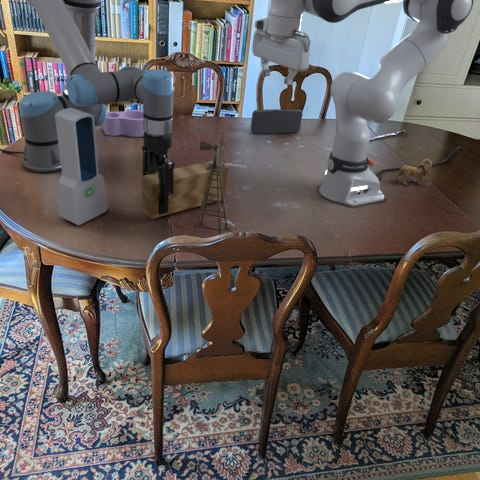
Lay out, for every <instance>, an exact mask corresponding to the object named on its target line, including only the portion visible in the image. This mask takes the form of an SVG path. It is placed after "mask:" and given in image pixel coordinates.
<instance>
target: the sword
mask: <svg viewBox="0 0 480 480" xmlns="http://www.w3.org/2000/svg"><path fill="white" fill-rule="evenodd" d="M399 132H400V131H393V132H390V133H387V134H382V135H377V136H374V137H370V142H372V141H373V140H377V139H382V138H387V137H391V136H392V137H393V136H398V135H401V134H402V133H399ZM406 133H408V132H404V133H403V134H406Z"/></svg>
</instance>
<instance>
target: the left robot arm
mask: <svg viewBox="0 0 480 480" xmlns="http://www.w3.org/2000/svg"><path fill="white" fill-rule="evenodd" d="M25 1H26V3H27V4H28V5H30V7H33V8H34V9H35V12H36V13H37V16H38V17H39V19H40V21H41V23H42V25H43V27H44V29H45V31H46V33H47V35H48V37H49V39H50V41H51V42H52V44H53V47H54V48H55V50H56V52H57V54H58V57H59V58H60V60H61V62H62V64H63V66H64V68H65V71H66V80H65V84H64V85H63V86H62V95H58V94H57V93H56V92H54V91H49V90H46V91H44V90H41V91H35V92H31V93H28V94H26V95H24V96H23V97H21V99H20V100H19V103H18V104H19V116H20V119H21V125H22V132H23V137H24V148H23V151H13V150H12V151H11V150H5V149H2V148H0V152H3V153H6V154H15V155H16V154H19V155H22V158H21V159H22V160H21V161H22V166H23V168H24V169H25V170H27V171H29V172H33V173H39V174H46V173H56V172H61V171H62V168H61V161H60V153H59V145H58V137H57V129H56V121H55V114H56V113H58V112H59V111H61V110H63V109H67V108H73V109H77V110H80V111H82V112H85V113H88V114H91V115H94V123H95V128H97V127H100V126H102V125H103V124H104V123H103V122H104V120H105V117H106V112H107V105H106V104H111V103H113V104H114V103H121V102H129V101H137V102H138V103H141V104H142V111H143V130H144V131H145V132H144V133H143V136H142V137H143V145H142V146H141V150H142V168H141V169H142V172H141V173H142V174H141V176H144V175H149V174H154V173H158V179H159V186H160V193H158V195H159V214H164V213H168V201H169V195H171V194H174V181H173V169H175V161H174V160H170V159H169V149H171V148H172V146H173V133H172V132H173V121H174V119H173V113H174V111H173V110H174V93H175V88H174V77H173V75H172V73H171V72H169V71H168V70H162V69H160V68H159V69H158V68H151V69H146V70H143V69H142V68H139V67H136V66H132V65H126V66H124V67H122V68H121V69H119V70H117V71H103V72H102V71H101V69H100V68H99V66H98V63H97V62H96V11H97V10H99V8H101V3H102V1H101V0H25Z"/></svg>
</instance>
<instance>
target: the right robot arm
mask: <svg viewBox="0 0 480 480" xmlns="http://www.w3.org/2000/svg"><path fill="white" fill-rule="evenodd" d="M399 2H400V3H401V2H402V8H403V12H404V15H405V16H406V17H407V18H408V19H409V20H411V21H413V22H417V25H416V26H415V27H414V29H413V30H412V31H411V32H410V33H409V34H408V35H406V36H405V37H404V38H403V39H401V40H400V41H399V42H398V43H396V44H395V45H394V46H393V47H391V48H390V49H389V50H388V51H387V52H386V53H384V54H383V55H382V56H381V58H380V60H379V70H378V71H377V72H376V73H375V74H374V75H372V76H371V77H367V76H364V75H362V74H360V73H359V72H351V71H344V72H341V73H339V74H337V75H336V76H335V78H334V79H333V81H332V82H331V85H330V95H331V98H332V100H333V103H334V110H335V134H334V140H333V145H332V150H331V151H330V153H329V157H328V161H327V170H325V173H324V175H325V176H324V178H323V181H322V183H321V185H320V187H319V188H318V191H319V193H320V195H321V196H323V198H326V199H327V200H330V201H332V202H336V203H340V204H343V205H346V206H349V207H357V206H363V205H368V204H373V203H378V202H382V201H384V200H385V195H384V193H383V191H382V190H380V186H381V183H380V178H381V174H382V173H384V172H389V171H390V172H391V171H399V170H400V169H401V168H402V167H403V166H400V167H399V166H398V167H389V168H383V169H381V170H379V171H378V173H377V175H375V173H374V172H373V170H372V169H370V168H373V167H374V166H375V165H376V162H375V161H374V160H373V159H369V157H368V156H367V153H368V149H369V145H370V142H371V141H370V138H372V137H371V131H370V129H369V126H368V122H371V123H376V124H383V123H385V122H388V121H389V120H390V119H391V118H392V117H393V115H394V114H395V113H396V110H397V107H398V97H399V94H400V93H401V91H402V90H403V88H404V87H405V86H406V85H407V84H408V83H409V82H410V81H411V80H413V79H414V78H415V77H416V76H417V75H419V74H420V73H421V72H422V71H424V70H425V69H426V68H427V67H428V66H429V65H430V64H432V62H433V61H434V60H435V59H436V58H438V56H439V55H440V53H442V51H443V50H444V48H446V46H447V41H448V37H447V34H450V33H453V32H455V31H456V30H457V29H458V27H459V26H460V25H462V24H463V23H464V22H465V20H466V19H467V18H468V17H469V16H470V13H471V11H472V9H473V7H474V0H270V8H269V10H268V16H267V17H265V18H261V19H260V18H259V19H257V20H255V21H254V29H255V30H254V33H253V38H252V46H251V51H252V54H253V56H254V57H257V58H260V65H261V68H262V71H261V72H262V73H261V75H262V76H264V77H270V75H271V70H272V69H270V68H269V63H270V62H271V63H274V64H277V65H280V66H282V67H284V68H287V70H288V71H287V72H288V75H287V76H285V77H284V81H283V83H284V84H285V85H286V86H291V85H292V84H293V80H294V79H295V76H296V75H297V74H298V72H305V71H307V70H308V69H309V67H310V61H311V39H310V37H309V34H308V33H306V32H302V31H301V25H302V19H303V13H307V14H310V15H312V16H314V17H317V18H320V19H322V20H323V21H325V22H328V23H331V24H337V23H340V22H342V21H344V20H346V19H347V18H348V17H350V16H351V15H352V14H354V13H355V12H358V11H359V10H362V9H366V8H370V7H375V6H377V5H382V4H391V3H399ZM459 148H462V147H461V146H458V147H456V149H459ZM459 150H460V151H463V148H462V149H459ZM453 151H454V150H453ZM453 151H451V152H450V153H449V155H448V156H447V157H446V158H445V159H442V160H440V161H437V162H434V163H433V162H432V167H433V166H438V165H441V164H443V163H445V162H447V161H448V160H449V159H451V157H452V156H453V154H455V153H456V152H457V151H454V152H453ZM452 152H453V153H452ZM451 153H452V154H451ZM450 154H451V156H450ZM449 156H450V157H449ZM448 157H449V158H448ZM447 158H448V159H447ZM409 166H410V167H418V166H419V165H409ZM369 167H370V168H369Z"/></svg>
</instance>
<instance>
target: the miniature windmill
mask: <svg viewBox="0 0 480 480" xmlns="http://www.w3.org/2000/svg"><path fill="white" fill-rule="evenodd" d="M225 137H226V134H225V133H222V132H221V133H220V137H219V138H220V139H218V141H219V142H218V143H217V145H214V146H213V145H212V144H211V143H208V142H205V141H202V140H201V141H199V150H200V151H211V150H213V151H215V155H214V156H213V161H214V162H213V163H209V166H208V167H207V168H206V170H211V172H210V175H209V177H208V179H209V180H208V183H207V184H206V186H207V187H206V190H205V193H204V198H203V200H202V202H201V203H202V205H201V206H200V208H199V210H198V211H199V212H198V214H197V217H196V222H195V224H194V230H193V233H192V237H193V236H195V237H196V234H197V232H198V231H197V230H198V228H201V229H207V230H213V231H218V236H219V235H220V234H221V235H222V232H223V231H222V230H223V229H224V227H225V230H228V229H229V225H228V219H229V216H227V211H226V201H225V199H224V196H223V188H222V181H221V176H222V175H221V174H220V172H224V171H225V169H226V167H228V166H227V165H225V164H224V165H225V166H224V165H220V163H223V162H222V159H223V158H224V157H223V155H224V153H225V152H224V149H226V148H225V143H226V142H225ZM211 167H212V168H211ZM213 172H216V174H214V173H213ZM218 173H219V174H218ZM212 175H216V178H217V179H213V178H212ZM218 176H219V179H218ZM211 180H214V181H217V187H214V186H210V185H211ZM218 181H220V188H219V182H218ZM210 188H216V189H217V195H215V194H210V193H209V189H210ZM219 189H221V192H220V194H219ZM208 195H212V196H217V200H218V201H217V200H212V199H208ZM220 195H221V196H222V200H219V196H220ZM205 198H206V199H205ZM207 200H209V201H214V202H215V203H217V210H215V209H209V208H206V207H207V204H206V203H207ZM204 202H205V204H204ZM214 202H213V203H214ZM222 210H223V212H222ZM206 211H208V212H213V213H217V214H212V213H207V212H206ZM221 212H222V213H223V215H221ZM205 216H209V217H210V216H211V217H216V218H218V219H217V220H218V221H217V222H218V228H214V227H209V226H203V222H204V217H205ZM221 219H224V222H223V224H222V221H221ZM199 224H200V225H199Z"/></svg>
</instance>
